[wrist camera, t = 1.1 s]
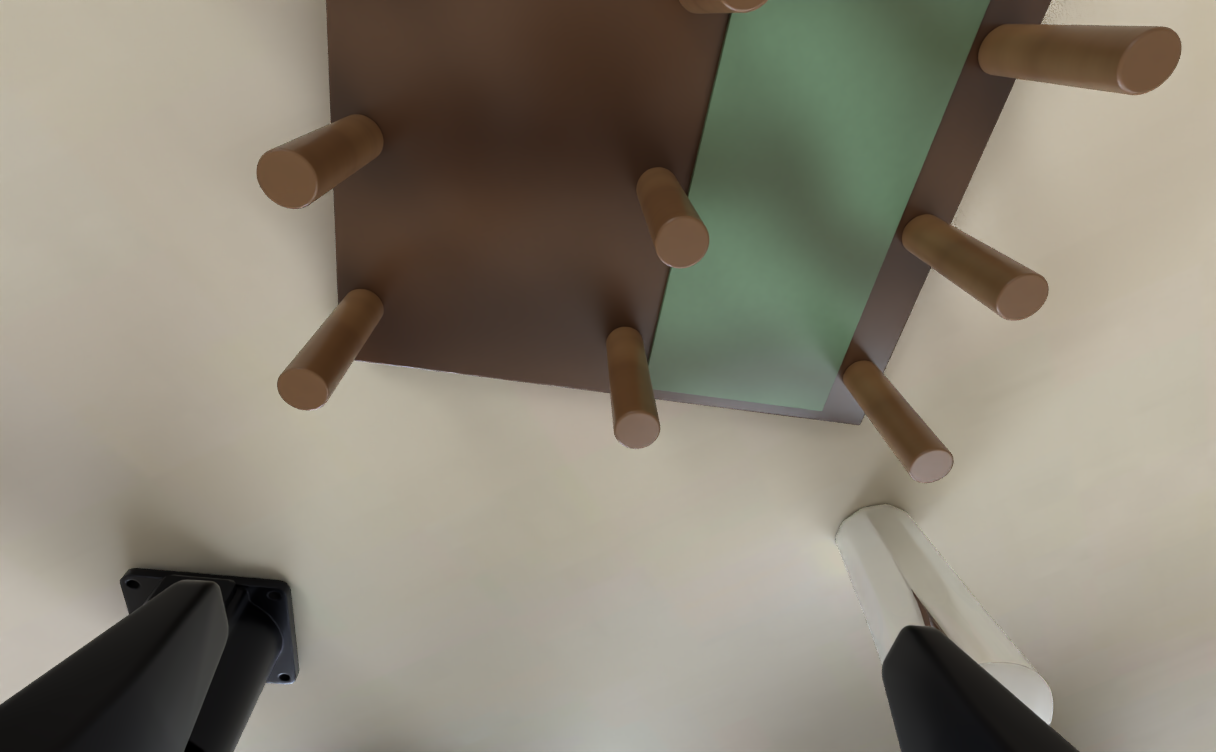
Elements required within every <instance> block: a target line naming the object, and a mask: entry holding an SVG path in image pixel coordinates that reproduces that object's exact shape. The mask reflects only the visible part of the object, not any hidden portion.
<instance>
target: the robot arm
mask: <svg viewBox="0 0 1216 752" xmlns="http://www.w3.org/2000/svg"><path fill="white" fill-rule="evenodd" d="M120 585H121V588H122V591H123V595H124V598H125V602H126V605H127V608H128V612H129V615H128V616H126V617H125V618H124V619H122V620H121V621H119V622H118V623H116V624H115V625H114V626H112V627H111V628H109V629H108V630H106V631H105V632H104V633H102V634H101V635H99V636H98V637H96V638H95V639H94V640H92V641H91V642H89V643H88V644H86V645H85V646H84V647H82V648H81V649H79V650H78V651H76V652H75V653H74V654H72V655H71V656H69V657H68V658H66V659H65V660H64V661H62V662H61V663H59V664H58V665H56V666H55V667H54V668H52V669H51V670H49V671H48V672H46V673H45V674H43V675H42V676H41V677H39V678H38V679H36V680H35V681H33V682H32V683H31V684H29V685H28V686H26V687H25V688H23V689H22V690H21V691H19V692H18V693H16V694H15V695H13V696H12V697H11V698H9V699H8V700H6V701H5V702H3V703H2V704H1V705H0V752H234V750H235V747H236V745H237V743H238V741H239V739H240V737H241V735H242V732H243V730H244V728H245V726H246V724H247V722H248V720H249V717H250V715H251V713H252V711H253V709H254V707H255V705H256V703H257V700H258V698H259V696H260V694H261V692H262V690H263V688H264V685H265V683H276V684H291V683H293V682H294V681H295V680H296V678H297V675H298V673H299V664H298V655H297V645H296V636H295V626H294V617H293V607H292V598H291V589H290V587H289V585H288V584H287V583H285V582H283V581H279V580H270V579H258V578H246V577H234V576H223V575H211V574H199V573H187V572H176V571H164V570H152V569H140V568H132V569H129V570H128V571H127V572H126V573H125V575H124V576H123V577H122V578H121V580H120ZM882 678H883V683H884V687H885V691H886V695H887V698H888V702H889V706H890V710H891V714H892V718H893V722H894V725H895V729H896V733H897V737H898V741H899V745H900V749H901V752H1079V751H1078V750H1077V749H1076V748H1075V747H1073V746H1072V745H1071V744H1070V743H1069V742H1068V741H1066V740H1065V739H1064V738H1063V737H1062V736H1061V735H1060V734H1058V733H1057V732H1056V731H1055V730H1054V729H1053V728H1052V727H1050V726H1049V725H1048V724H1047V723H1046V722H1045V721H1043V720H1042V719H1041V718H1040V717H1039V716H1038V715H1037V714H1035V713H1034V712H1033V711H1032V710H1031V709H1030V708H1029V707H1027V706H1026V705H1025V704H1024V703H1023V702H1022V701H1020V700H1019V699H1018V698H1017V697H1016V696H1015V695H1014V694H1012V693H1011V692H1010V691H1009V690H1008V689H1007V688H1006V687H1004V686H1003V685H1002V684H1001V683H1000V682H999V681H997V680H996V679H995V678H994V677H993V676H992V675H991V674H989V673H988V672H987V671H986V670H985V669H984V668H983V667H981V666H980V665H979V664H978V663H977V662H976V661H974V660H973V659H972V658H971V657H970V656H969V655H968V654H966V653H965V652H964V651H963V650H962V649H961V648H960V647H958V646H957V645H956V644H955V643H954V642H953V641H951V640H950V639H949V638H948V637H947V636H946V635H945V634H943V633H942V632H941V631H940V630H938V629H936V628H934V627H930V626H917V625H907V626H905V627H903V628H902V629H901V631H900V632H899V634H898V636H897V637H896V639H895V641H894V643H893V645H892V646H891V648H890V650H889V652H888V654H887V655H886V657H885V659H884V661H883V665H882Z"/></svg>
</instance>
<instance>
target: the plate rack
mask: <svg viewBox="0 0 1216 752" xmlns="http://www.w3.org/2000/svg"><path fill="white" fill-rule="evenodd" d="M1050 2H1051V0H326V12H327V37H328V63H329V88H330V113H331V124H328V125H326V126H324V127H322V128H319V129H317V130H315V131H312V132H310V133H308V134H306V135H303V136H301V137H299V138H296V139H294V140H292V141H289V142H287V143H285V144H283V145H280V146H278V147H276V148H273V149H271V150H269V151H267V152H266V153H264V154H263V155H262V156H261V158H260V159H259V162H258V165H257V179H258V182H259V185H260V187H261V189H262V190H263V192H264V193H265V194H266V195H267V197H269V198H270V199H271V200H272V201H273V202H275V203H277V204H278V205H280V206H283V207H286V208H291V209H299V208H304V207H306V206H308V205H310V204H311V203H312V202H314V201H315V200H317V199H318V198H320V197H321V196H322V195H324V194H325V193H327V192H328V191H329V190H331V189H332V188H333V189H334V214H335V239H336V264H337V290H338V306H337V307H336V308H335V310H334V311H333V312H332V313H331V314H330V316H329V317H328V318H327V319H326V320H325V322H324V323H323V324H322V325H321V326H320V328H319V329H318V330H317V331H316V333H315V334H314V335H313V336H312V337H311V339H310V340H309V341H308V342H307V343H306V345H305V346H304V347H303V348H302V349H301V351H300V352H299V353H298V354H297V355H296V357H295V358H294V359H293V360H292V362H291V363H290V364H289V365H288V366H287V368H286V369H285V370H284V371H283V372H282V374H281V375H280V376H279V378H278V382H277V388H278V391H279V394H280V396H281V397H282V398H283V400H284V401H285V402H287V403H288V404H289V405H291V406H293V407H295V408H297V409H301V410H315V409H318V408H320V407H322V406H323V405H325V403H326V402H327V401H328V399H329V398H330V396H331V395H332V393H333V392H334V390H335V388H336V387H337V385H338V384H339V382H340V381H341V379H342V378H343V376H344V375H345V373H346V372H347V370H348V368H349V367H350V365H351V364H352V362H353V361H354V360H355V361H362V362H370V363H378V364H386V365H394V366H401V367H409V368H417V369H425V370H433V371H440V372H448V373H456V374H464V375H472V376H479V377H487V378H495V379H503V380H511V381H518V382H526V383H534V384H542V385H550V386H557V387H565V388H573V389H581V390H589V391H596V392H604V393H610V394H611V406H612V417H613V429H614V435H615V437H616V439H617V440H618V441H619V442H620V443H621V444H622V445H624V446H626V447H628V448H633V449H639V448H644V447H647V446H649V445H650V444H652V443H653V442H654V441H655V440H656V439H657V437H658V435H659V433H660V422H659V417H658V413H657V408H656V403H655V399H659V400H667V401H674V402H682V403H690V404H698V405H706V406H713V407H721V408H729V409H737V410H745V411H752V412H760V413H768V414H776V415H784V416H791V417H799V418H807V419H815V420H823V421H830V422H838V423H846V424H854V425H860V424H861V422H862V419H863V417H864V415H865V414H866V415H867V417H868V418H869V419H870V421H871V422H872V424H873V425H874V426H875V428H876V429H877V431H878V432H879V433H880V435H881V436H882V437H883V439H884V440H885V442H886V443H887V444H888V446H889V447H890V448H891V450H892V451H893V453H894V454H895V455H896V457H897V458H898V459H899V461H900V462H901V464H902V465H903V466H904V468H905V469H906V471H907V472H908V473H909V475H910V476H911V477H912V478H913V479H914V480H916V481H918V482H921V483H930V482H934V481H937V480H939V479H941V478H943V477H944V476H945V475H947V474H948V473H949V471H950V470H951V468H952V466H953V456H952V454H951V452H950V451H949V450H948V449H947V448H946V447H945V445H944V444H943V443H942V442H941V441H940V440H939V438H938V437H937V436H936V435H935V434H934V433H933V431H932V430H931V429H930V428H929V427H928V426H927V424H926V423H925V422H924V421H923V420H922V419H921V417H920V416H919V415H918V414H917V413H916V412H915V410H914V409H913V408H912V407H911V406H910V404H909V403H908V402H907V401H906V400H905V399H904V397H903V396H902V395H901V394H900V393H899V392H898V390H897V389H896V388H895V387H894V386H893V385H892V383H891V382H890V381H889V380H888V379H887V378H886V376H885V375H884V374H883V373H884V371H885V368H886V366H887V364H888V362H889V359H890V357H891V355H892V353H893V351H894V348H895V346H896V344H897V342H898V340H899V337H900V335H901V333H902V331H903V328H904V326H905V324H906V322H907V320H908V317H909V315H910V313H911V311H912V308H913V306H914V304H915V302H916V300H917V297H918V295H919V293H920V291H921V289H922V286H923V284H924V282H925V280H926V277H927V275H928V273H929V271H930V269H931V267H932V268H933V269H934V270H936V271H937V272H939V273H940V274H941V275H943V276H944V277H946V278H947V279H949V280H950V281H951V282H953V283H954V284H956V285H957V286H958V287H960V288H961V289H963V290H964V291H965V292H967V293H968V294H970V295H971V296H972V297H974V298H975V299H977V300H978V301H980V302H981V303H982V304H984V305H985V306H987V307H988V308H989V309H991V310H992V311H994V312H995V313H996V314H998V315H999V316H1001V317H1002V318H1004V319H1006V320H1021V319H1025V318H1027V317H1029V316H1031V315H1033V314H1034V313H1035V312H1037V311H1038V310H1039V309H1040V308H1041V307H1042V305H1043V304H1044V302H1045V301H1046V299H1047V296H1048V291H1049V288H1048V283H1047V281H1046V280H1045V278H1044V277H1043V276H1041V275H1040V274H1038V273H1036V272H1034V271H1032V270H1031V269H1029V268H1027V267H1025V266H1023V265H1022V264H1020V263H1018V262H1016V261H1015V260H1013V259H1011V258H1009V257H1007V256H1006V255H1004V254H1002V253H1000V252H998V251H997V250H995V249H993V248H991V247H989V246H988V245H986V244H984V243H982V242H981V241H979V240H977V239H975V238H973V237H972V236H970V235H968V234H966V233H964V232H963V231H961V230H959V229H957V228H955V227H954V226H952V225H950V224H951V222H952V220H953V218H954V215H955V213H956V211H957V209H958V206H959V204H960V202H961V200H962V198H963V195H964V193H965V191H966V189H967V186H968V184H969V182H970V180H971V178H972V175H973V173H974V171H975V169H976V166H977V164H978V162H979V160H980V158H981V155H982V153H983V151H984V149H985V147H986V144H987V142H988V140H989V138H990V135H991V133H992V131H993V129H994V127H995V124H996V122H997V120H998V118H999V115H1000V113H1001V111H1002V109H1003V107H1004V104H1005V102H1006V100H1007V98H1008V95H1009V93H1010V91H1011V89H1012V87H1013V84H1014V82H1015V80H1016V79H1023V80H1030V81H1037V82H1044V83H1051V84H1058V85H1065V86H1072V87H1079V88H1086V89H1093V90H1100V91H1107V92H1114V93H1121V94H1128V95H1141V94H1144V93H1147V92H1149V91H1152V90H1154V89H1155V88H1157V87H1158V86H1160V85H1161V84H1162V83H1164V82H1165V81H1166V80H1167V79H1168V77H1169V76H1170V75H1171V74H1172V72H1173V71H1174V69H1175V68H1176V66H1177V64H1178V61H1179V59H1180V55H1181V41H1180V38H1179V36H1178V35H1177V33H1176V32H1174V31H1173V30H1172V29H1170V28H1167V27H1157V26H1101V25H1045V24H1041V22H1042V20H1043V18H1044V16H1045V13H1046V11H1047V9H1048V7H1049V5H1050Z"/></svg>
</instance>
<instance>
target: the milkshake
mask: <svg viewBox="0 0 1216 752" xmlns="http://www.w3.org/2000/svg"><path fill="white" fill-rule="evenodd" d="M835 541H836V544H837V547H838V549H839V552H840V554H841V557H842V560H843V562H844V565H845V567H846V570H847V573H848V575H849V578H850V580H851V583H852V585H853V588H854V591H855V593H856V596H857V598H858V601H859V603H860V606H861V609H862V611H863V614H864V616H865V619H866V622H867V624H868V627H869V630H870V632H871V635H872V638H873V641H874V644H875V647H876V650H877V653H878V656H879V659H880V662H881V665H883V661H884V659H885V657H886V655H887V654H888V652H889V650H890V648H891V646H892V645H893V643H894V641H895V639H896V637H897V636H898V634H899V632H900V631H901V629H902V628H903V627H905V626H907V625H917V626H930V627H934V628H936V629H938V630H940V631H941V632H942V633H943V634H945V635H946V636H947V637H948V638H949V639H950V640H951V641H953V642H954V643H955V644H956V645H957V646H958V647H960V648H961V649H962V650H963V651H964V652H965V653H966V654H968V655H969V656H970V657H971V658H972V659H973V660H974V661H976V662H977V663H978V664H979V665H980V666H981V667H983V668H984V669H985V670H986V671H987V672H988V673H989V674H991V675H992V676H993V677H994V678H995V679H996V680H997V681H999V682H1000V683H1001V684H1002V685H1003V686H1004V687H1006V688H1007V689H1008V690H1009V691H1010V692H1011V693H1012V694H1014V695H1015V696H1016V697H1017V698H1018V699H1019V700H1020V701H1022V702H1023V703H1024V704H1025V705H1026V706H1027V707H1029V708H1030V709H1031V710H1032V711H1033V712H1034V713H1035V714H1037V715H1038V716H1039V717H1040V718H1041V719H1042V720H1043V721H1045V722H1046V723H1047V724H1048V725H1050V723H1051V721H1052V715H1053V697H1052V693H1051V690H1050V688H1049V686H1048V684H1047V683H1046V681H1045V680H1044V679H1043V678H1042V676H1041V675H1040V674H1039V673H1038V671H1037V670H1036V669H1035V668H1034V667H1033V665H1032V664H1031V663H1030V662H1029V661H1028V660H1027V658H1026V657H1025V656H1024V655H1023V654H1022V653H1021V651H1020V650H1019V649H1018V648H1017V647H1016V645H1015V644H1014V643H1013V642H1012V641H1011V640H1010V638H1009V637H1008V636H1007V635H1006V634H1005V632H1004V631H1003V630H1002V629H1001V628H1000V627H999V625H998V624H997V623H996V622H995V621H994V619H993V618H992V617H991V616H990V615H989V614H988V612H987V611H986V610H985V609H984V608H983V606H982V605H981V604H980V603H979V601H978V600H977V599H976V598H975V596H974V595H973V594H972V593H971V591H970V590H969V589H968V588H967V586H966V585H965V584H964V583H963V581H962V580H961V579H960V578H959V576H958V575H957V574H956V573H955V571H954V570H953V569H952V567H951V566H950V565H949V564H948V562H947V561H946V560H945V559H944V557H943V556H942V555H941V554H940V552H939V551H938V550H937V549H936V547H935V546H934V545H933V544H932V542H931V541H930V540H929V539H928V537H927V536H926V535H925V534H924V532H923V531H922V530H921V529H920V527H919V526H918V525H917V524H916V522H915V521H914V520H913V519H912V518H911V516H910V515H909V514H908V513H907V512H906V511H904V510H901V509H899V508H896V507H894V506H891V505H889V504H882V505H876V506H869V507H863V508H861V509H860V510H858V511H857V512H855V513H854V514H852V515H851V516H849V517H848V518H846V519H845V520H844V521H842V524H841V526H840V528H839V531H838V533H837V535H836V538H835Z"/></svg>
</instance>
